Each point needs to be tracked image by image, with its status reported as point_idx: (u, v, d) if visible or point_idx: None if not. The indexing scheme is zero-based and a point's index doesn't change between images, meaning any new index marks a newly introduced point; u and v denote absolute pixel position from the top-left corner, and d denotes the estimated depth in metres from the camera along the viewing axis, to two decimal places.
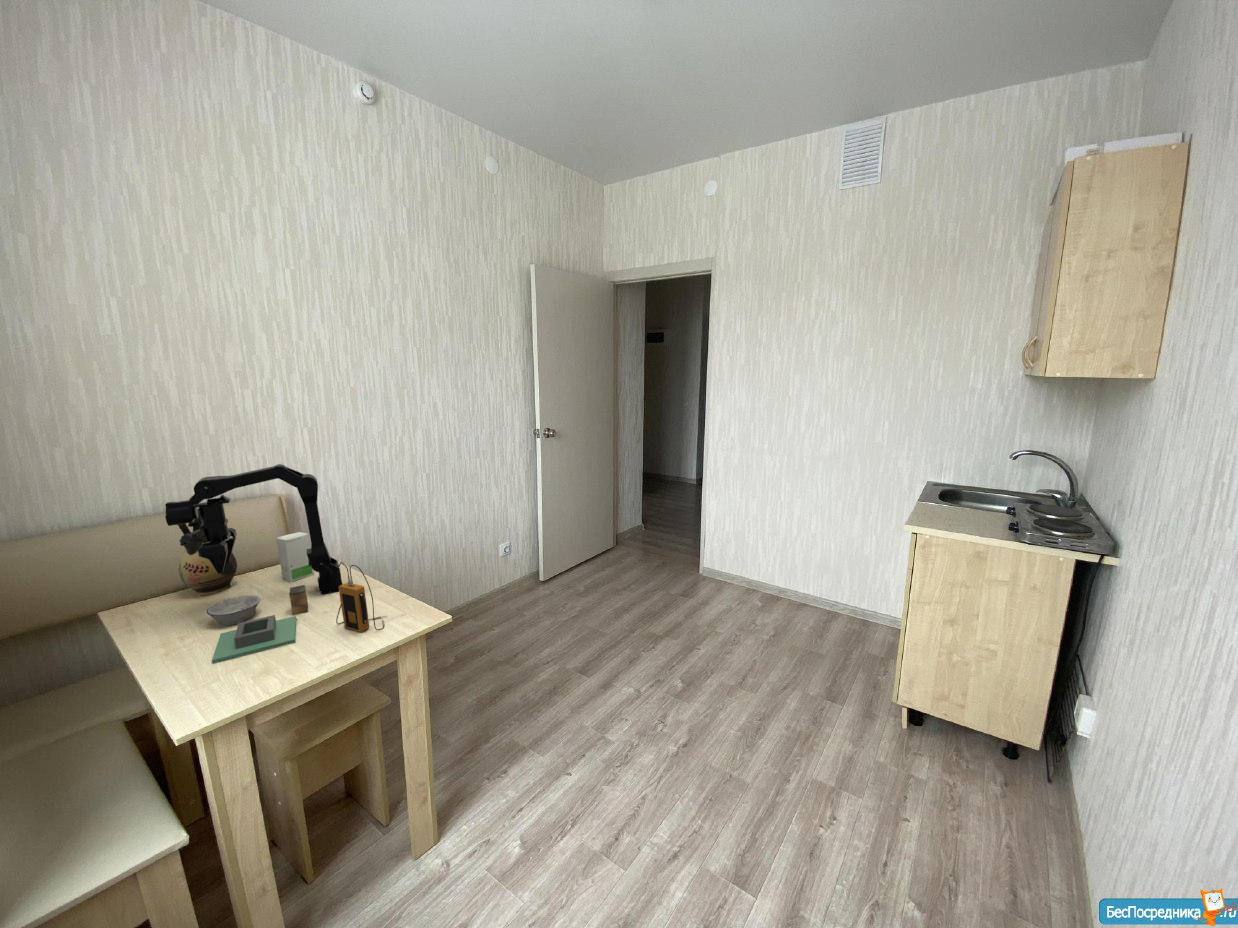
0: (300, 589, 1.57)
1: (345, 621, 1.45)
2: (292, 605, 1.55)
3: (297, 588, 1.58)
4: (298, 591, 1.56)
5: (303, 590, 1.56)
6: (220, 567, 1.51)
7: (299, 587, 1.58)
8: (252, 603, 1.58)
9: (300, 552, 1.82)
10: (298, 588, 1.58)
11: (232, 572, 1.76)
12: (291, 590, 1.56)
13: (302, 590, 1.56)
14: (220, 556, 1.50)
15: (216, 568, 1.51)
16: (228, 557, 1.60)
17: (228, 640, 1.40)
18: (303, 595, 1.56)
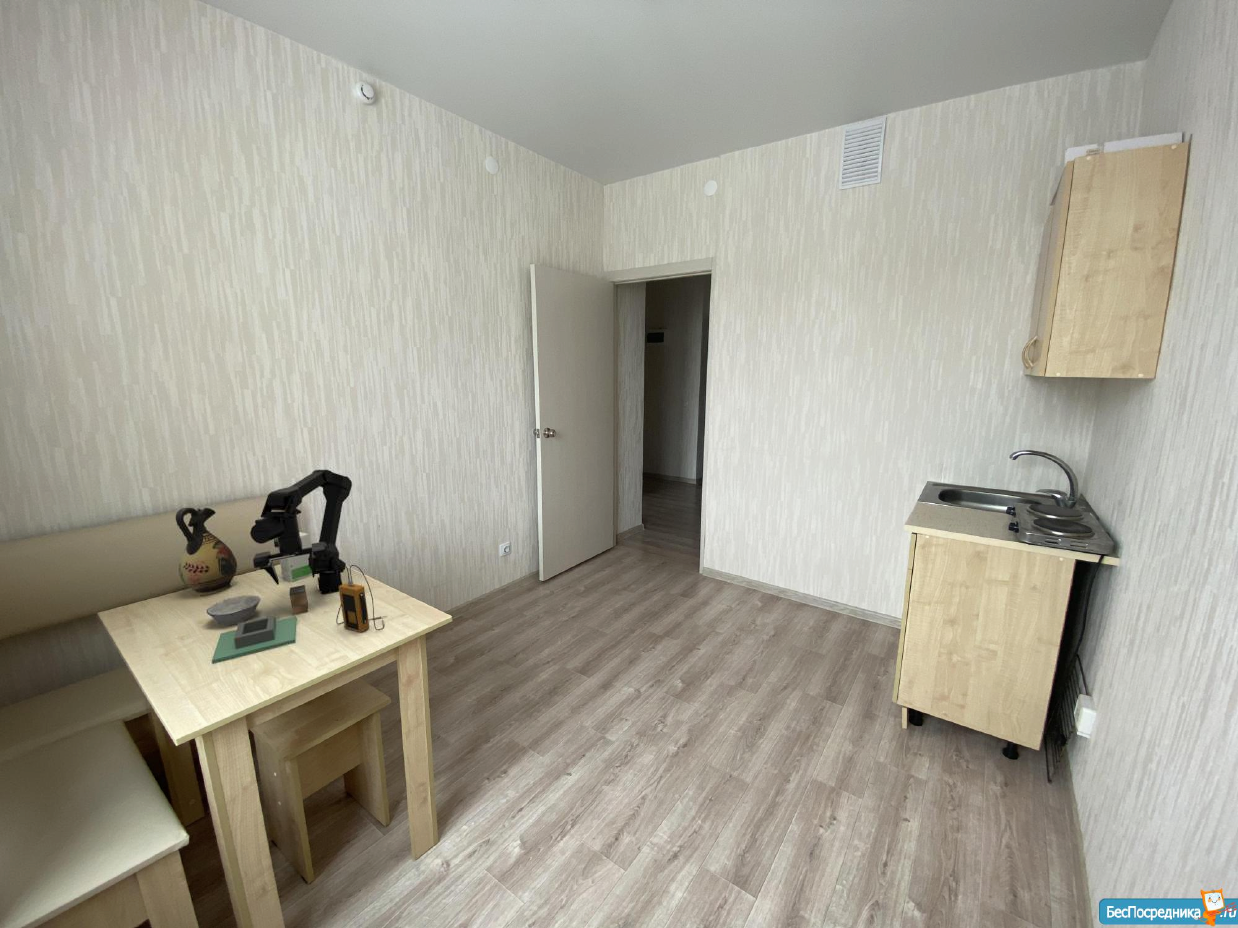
0: (300, 589, 1.57)
1: (345, 621, 1.45)
2: (292, 605, 1.55)
3: (297, 588, 1.58)
4: (298, 591, 1.56)
5: (303, 590, 1.56)
6: None
7: (299, 587, 1.58)
8: (252, 603, 1.58)
9: None
10: (298, 588, 1.58)
11: (232, 572, 1.76)
12: (291, 590, 1.56)
13: (302, 590, 1.56)
14: None
15: None
16: None
17: (228, 640, 1.40)
18: (303, 595, 1.56)
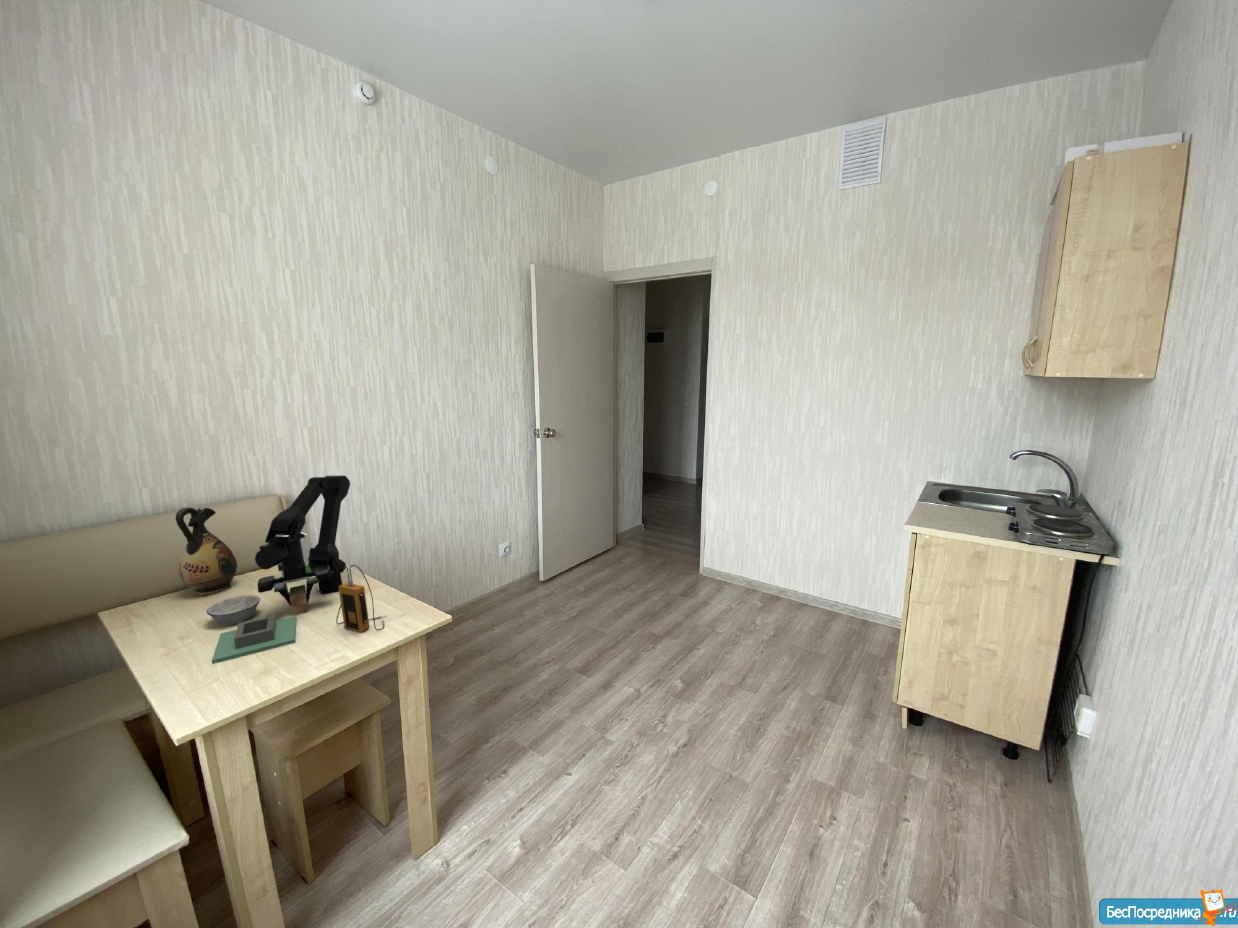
0: (300, 589, 1.57)
1: (345, 621, 1.45)
2: (292, 605, 1.55)
3: (297, 588, 1.58)
4: (298, 591, 1.56)
5: (303, 590, 1.56)
6: (287, 601, 1.56)
7: (299, 587, 1.58)
8: (252, 603, 1.58)
9: None
10: (298, 588, 1.58)
11: (232, 572, 1.76)
12: (291, 590, 1.56)
13: (302, 590, 1.56)
14: None
15: None
16: (306, 597, 1.58)
17: (228, 640, 1.40)
18: (303, 595, 1.56)
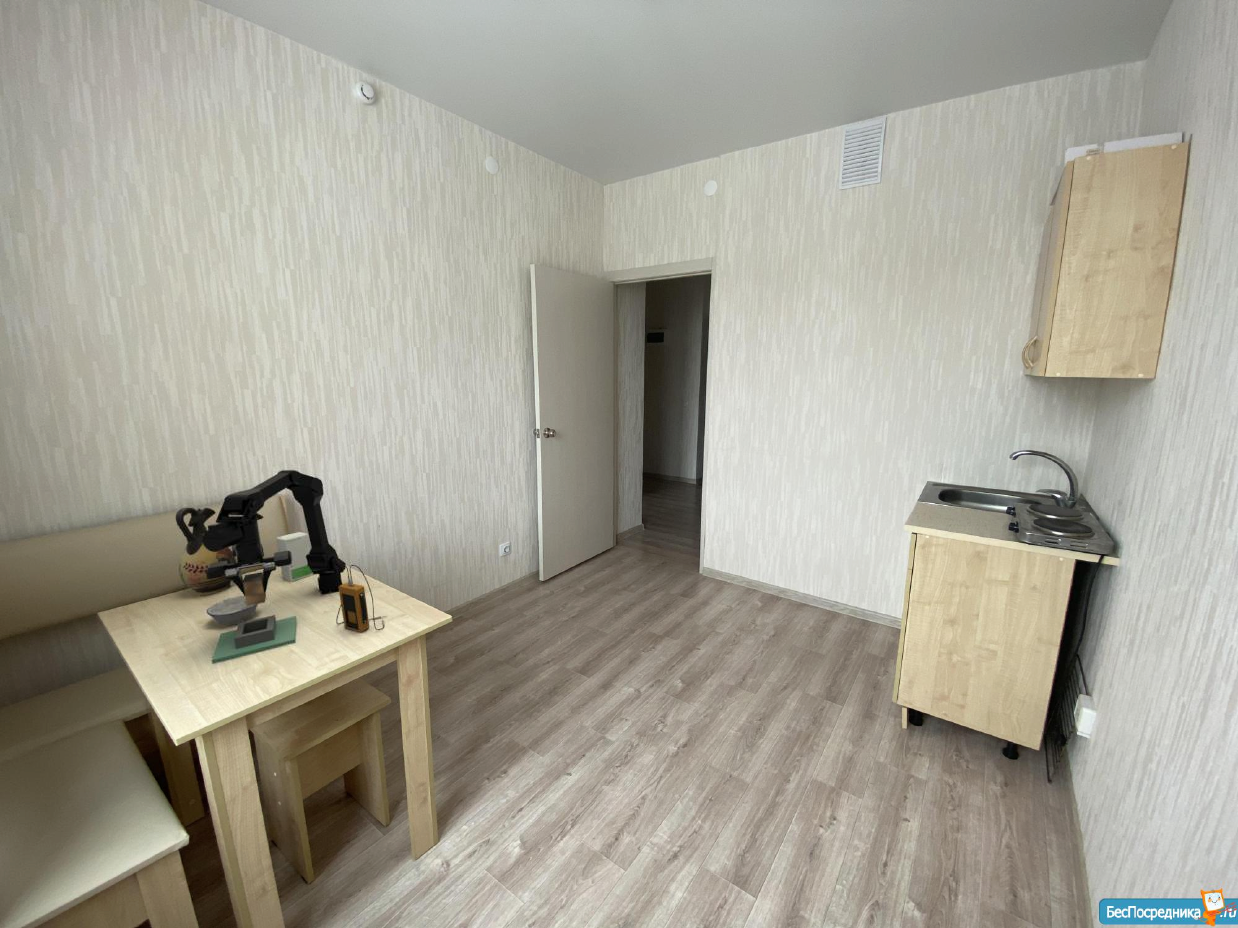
0: (256, 576, 1.40)
1: (345, 621, 1.45)
2: (246, 594, 1.38)
3: (253, 575, 1.41)
4: (253, 578, 1.39)
5: (259, 577, 1.39)
6: None
7: (255, 574, 1.42)
8: None
9: (300, 552, 1.82)
10: (254, 575, 1.41)
11: None
12: (246, 577, 1.40)
13: (258, 577, 1.39)
14: None
15: None
16: (263, 586, 1.41)
17: (228, 640, 1.40)
18: (259, 583, 1.39)
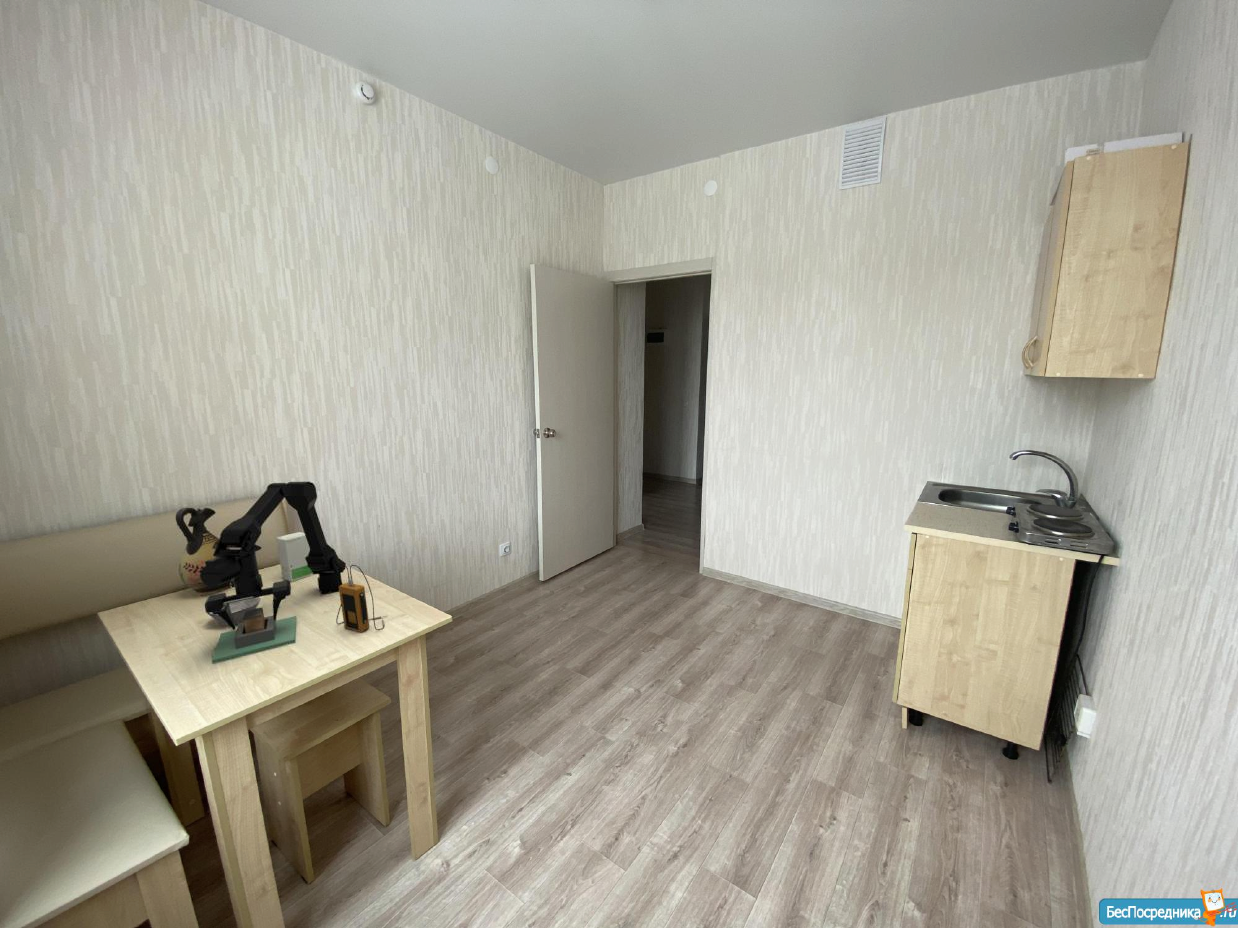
0: (256, 613, 1.40)
1: (345, 621, 1.45)
2: (247, 631, 1.38)
3: (253, 611, 1.41)
4: (254, 615, 1.39)
5: (259, 614, 1.39)
6: None
7: (256, 610, 1.41)
8: (252, 603, 1.58)
9: (300, 552, 1.82)
10: (254, 611, 1.41)
11: None
12: (246, 614, 1.39)
13: (258, 614, 1.39)
14: None
15: None
16: (273, 615, 1.42)
17: (228, 640, 1.40)
18: (259, 619, 1.39)
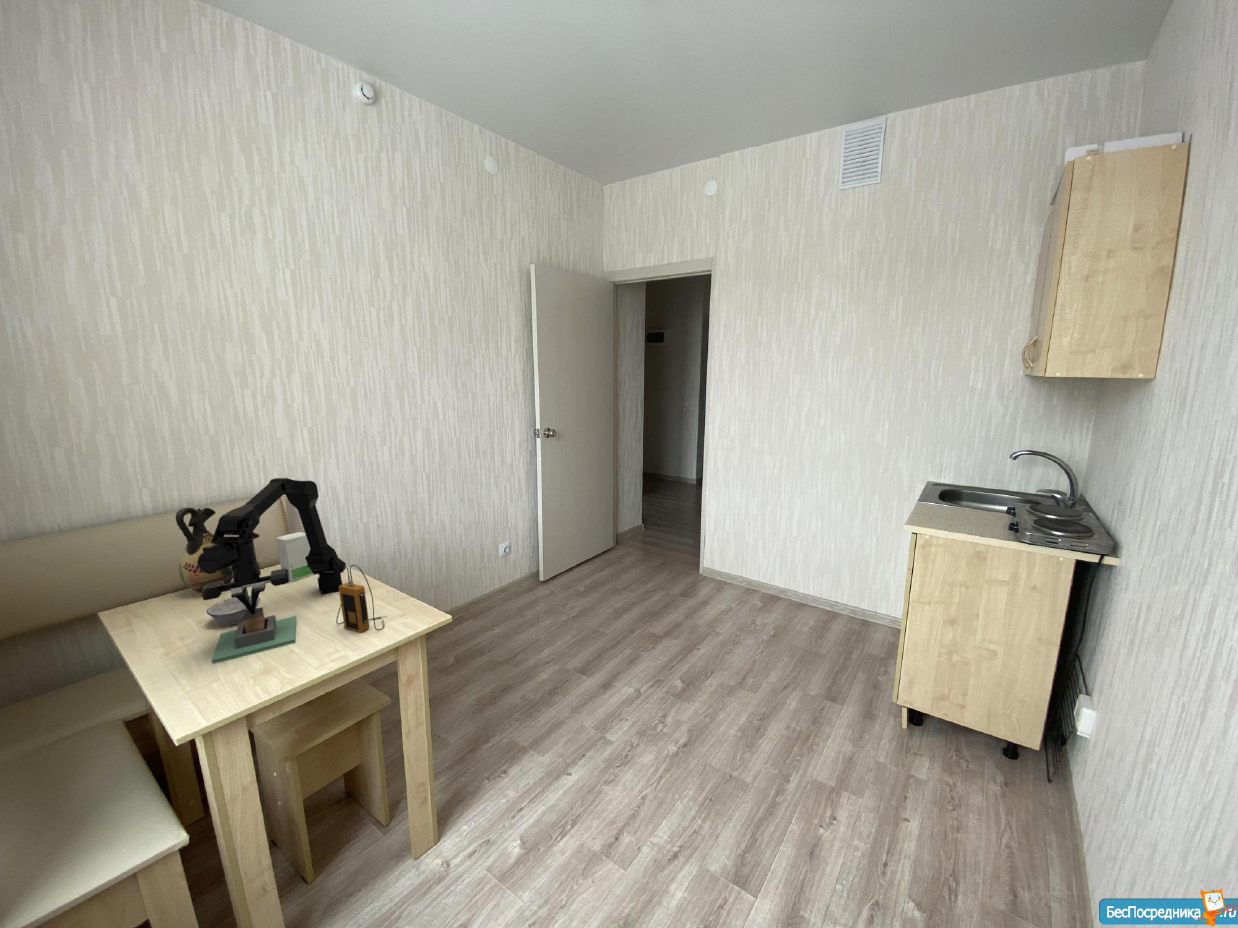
0: (256, 613, 1.40)
1: (345, 621, 1.45)
2: (247, 631, 1.38)
3: None
4: (254, 615, 1.39)
5: (259, 614, 1.39)
6: None
7: (256, 610, 1.41)
8: None
9: (300, 552, 1.82)
10: None
11: None
12: (246, 614, 1.39)
13: (258, 614, 1.39)
14: None
15: None
16: (251, 607, 1.39)
17: (228, 640, 1.40)
18: (259, 619, 1.39)
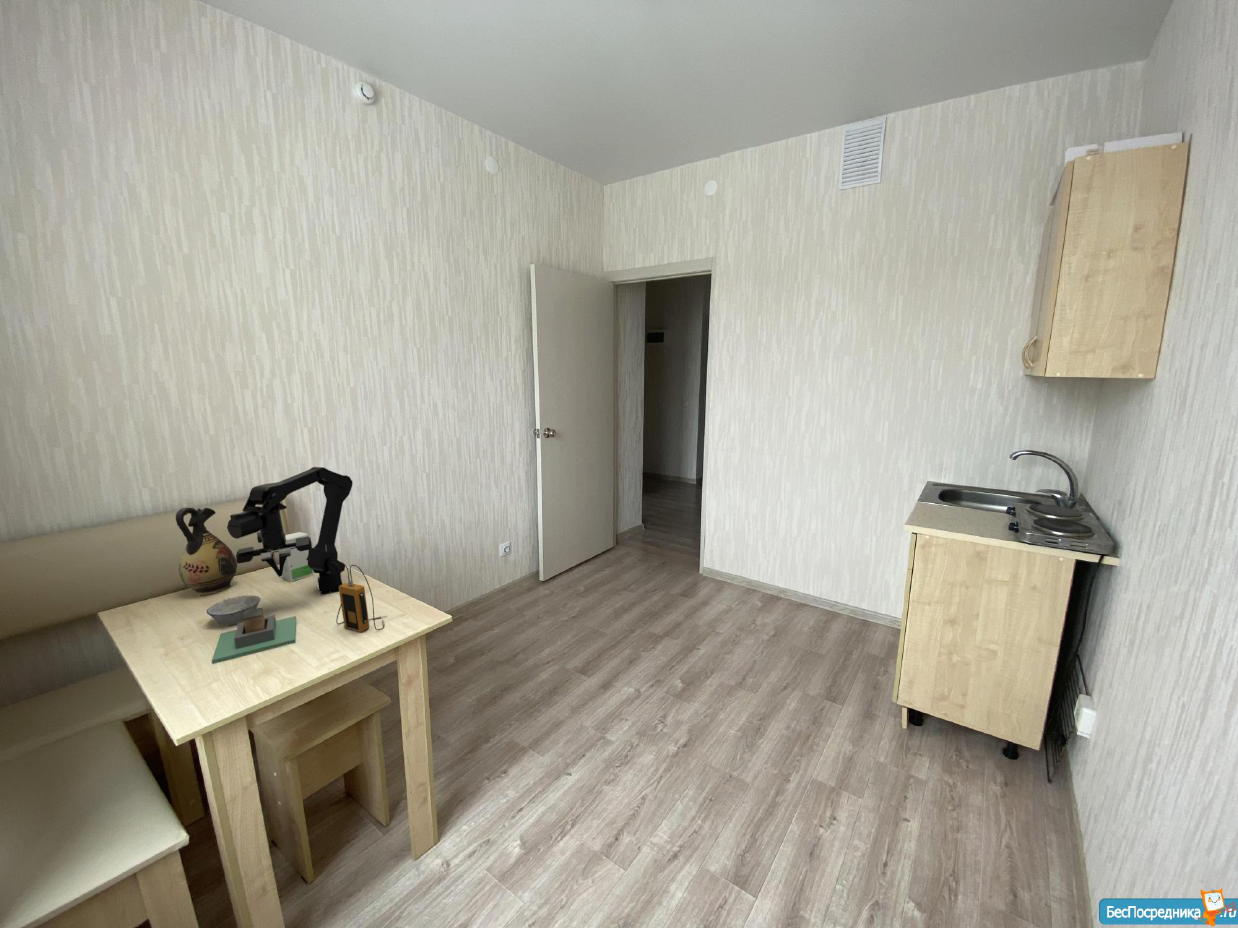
0: (256, 613, 1.40)
1: (345, 621, 1.45)
2: (247, 631, 1.38)
3: (253, 611, 1.41)
4: (254, 615, 1.39)
5: (259, 614, 1.39)
6: (275, 571, 1.54)
7: (256, 610, 1.41)
8: (252, 603, 1.58)
9: (300, 552, 1.82)
10: (254, 611, 1.41)
11: (232, 572, 1.76)
12: (246, 614, 1.39)
13: (258, 614, 1.39)
14: None
15: None
16: (279, 571, 1.55)
17: (228, 640, 1.40)
18: (259, 619, 1.39)
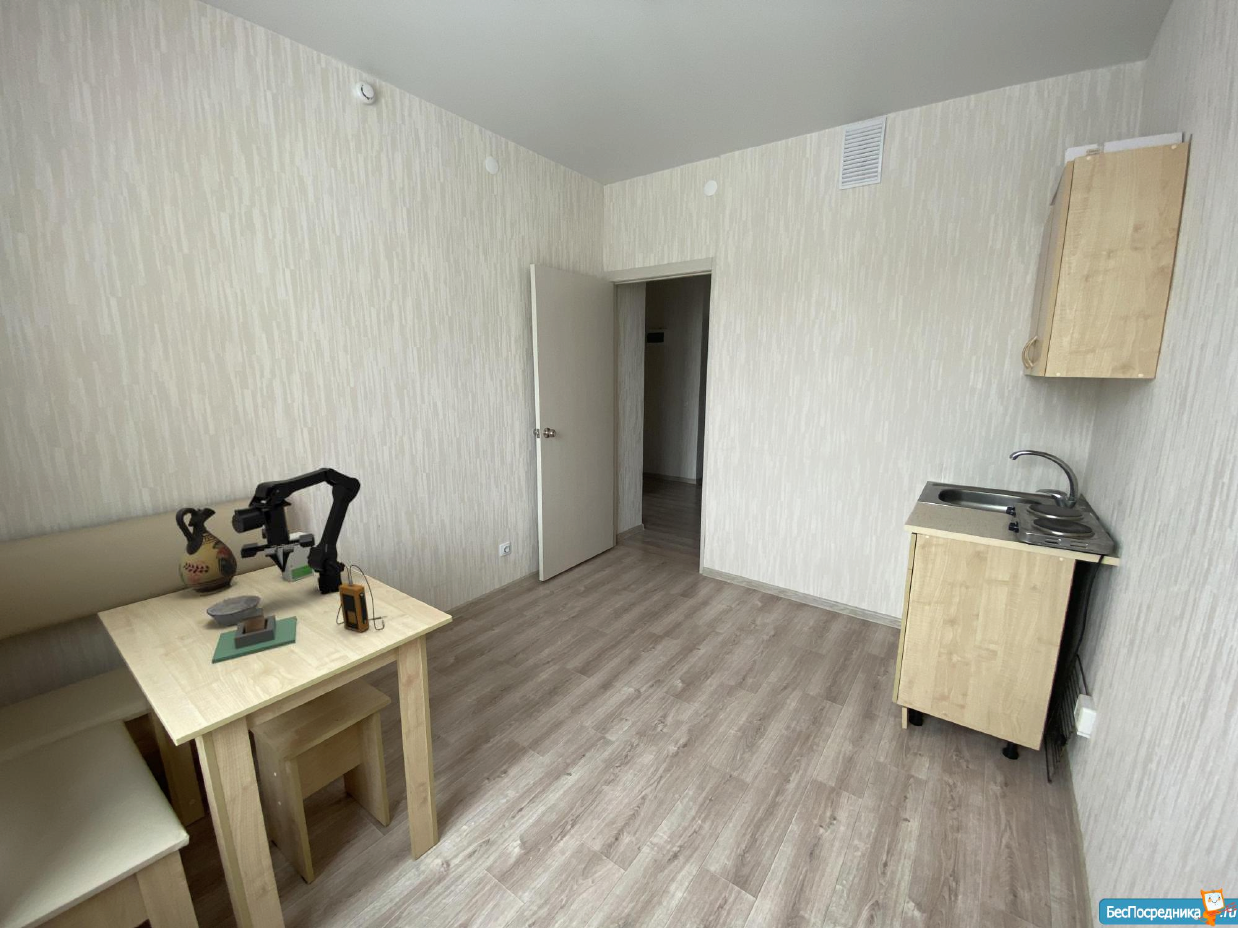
0: (256, 613, 1.40)
1: (345, 621, 1.45)
2: (247, 631, 1.38)
3: (253, 611, 1.41)
4: (254, 615, 1.39)
5: (259, 614, 1.39)
6: None
7: (256, 610, 1.41)
8: (252, 603, 1.58)
9: (300, 552, 1.82)
10: (254, 611, 1.41)
11: (232, 572, 1.76)
12: (246, 614, 1.39)
13: (258, 614, 1.39)
14: None
15: None
16: (282, 566, 1.57)
17: (228, 640, 1.40)
18: (259, 619, 1.39)
